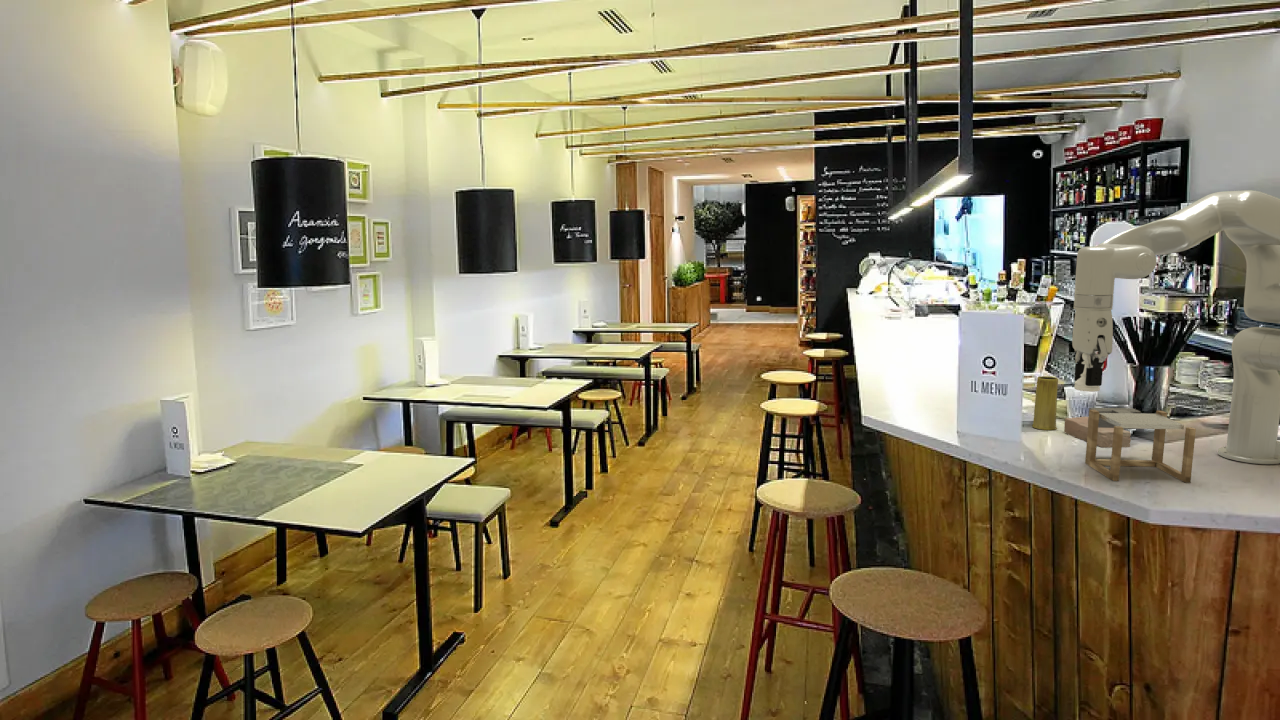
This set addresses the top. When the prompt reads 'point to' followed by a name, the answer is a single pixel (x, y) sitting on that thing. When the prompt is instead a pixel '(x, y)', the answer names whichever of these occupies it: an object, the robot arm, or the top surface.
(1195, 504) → the top surface
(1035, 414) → the vase
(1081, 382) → the chess pawn
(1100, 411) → the trapdoor
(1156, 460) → the frame
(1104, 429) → the brick
